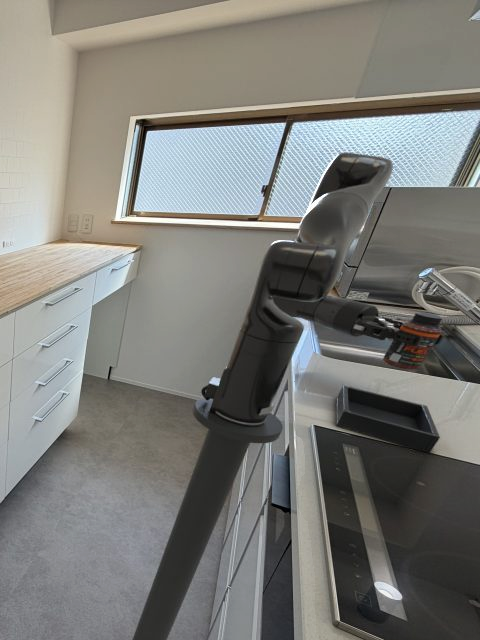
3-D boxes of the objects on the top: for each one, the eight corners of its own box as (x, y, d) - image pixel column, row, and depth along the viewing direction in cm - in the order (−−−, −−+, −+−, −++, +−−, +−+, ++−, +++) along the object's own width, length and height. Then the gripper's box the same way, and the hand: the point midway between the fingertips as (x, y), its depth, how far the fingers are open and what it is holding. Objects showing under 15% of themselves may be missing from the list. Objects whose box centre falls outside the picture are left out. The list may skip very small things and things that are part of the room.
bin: (336, 425, 83) (343, 410, 81) (336, 398, 94) (343, 385, 92) (429, 453, 76) (440, 437, 74) (418, 420, 86) (427, 405, 85)
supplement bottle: (394, 369, 87) (423, 317, 82) (374, 358, 92) (401, 309, 87) (426, 372, 86) (458, 320, 81) (404, 361, 91) (433, 311, 86)
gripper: (329, 301, 95) (417, 324, 80) (373, 299, 99) (464, 322, 84) (315, 332, 98) (397, 360, 84) (358, 329, 102) (443, 355, 88)
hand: (430, 340), depth 84 cm, fingers closed on supplement bottle, 6 cm apart
